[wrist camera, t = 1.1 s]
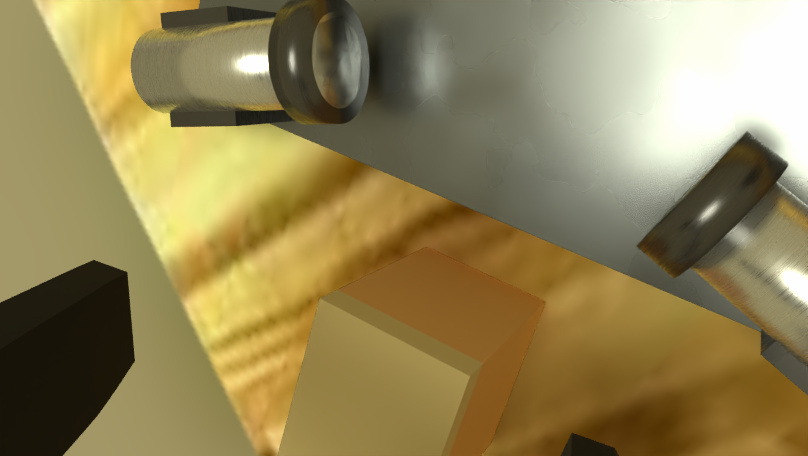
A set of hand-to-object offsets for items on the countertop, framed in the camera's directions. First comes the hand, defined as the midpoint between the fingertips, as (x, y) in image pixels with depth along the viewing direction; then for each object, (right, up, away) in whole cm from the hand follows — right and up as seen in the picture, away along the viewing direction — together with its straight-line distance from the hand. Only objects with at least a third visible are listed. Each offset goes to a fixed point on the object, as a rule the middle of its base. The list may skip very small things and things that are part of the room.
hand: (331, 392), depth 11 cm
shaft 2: (+11, +2, +6) cm, 13 cm away
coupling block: (+3, -1, +11) cm, 11 cm away
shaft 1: (-2, +8, +12) cm, 14 cm away
